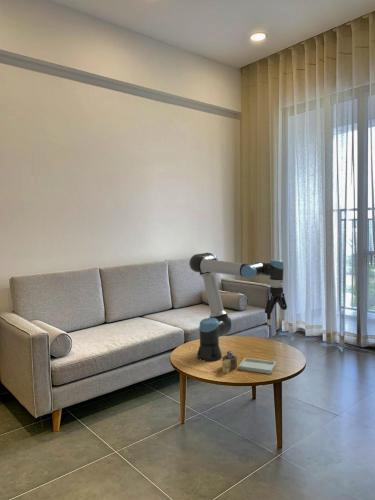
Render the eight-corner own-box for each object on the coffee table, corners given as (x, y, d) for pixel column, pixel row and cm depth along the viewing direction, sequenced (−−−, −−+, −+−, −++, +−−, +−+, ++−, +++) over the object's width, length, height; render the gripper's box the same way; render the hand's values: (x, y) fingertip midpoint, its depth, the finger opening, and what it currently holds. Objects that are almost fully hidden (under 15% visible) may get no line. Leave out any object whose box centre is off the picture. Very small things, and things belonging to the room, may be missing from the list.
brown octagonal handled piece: (225, 364, 223) (225, 354, 223) (238, 366, 220) (237, 356, 220) (218, 372, 212) (218, 361, 211) (231, 374, 209) (231, 363, 208)
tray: (238, 369, 215) (238, 365, 215) (245, 360, 229) (245, 357, 228) (271, 373, 208) (271, 370, 208) (276, 364, 221) (276, 361, 221)
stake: (226, 368, 218) (226, 352, 217) (228, 366, 220) (227, 351, 220) (231, 368, 216) (231, 353, 216) (233, 367, 219) (232, 351, 218)
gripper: (270, 290, 210) (269, 328, 212) (293, 284, 228) (292, 319, 229) (258, 288, 215) (258, 325, 217) (282, 283, 233) (281, 317, 235)
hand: (275, 322), depth 223 cm, fingers open, 13 cm apart
